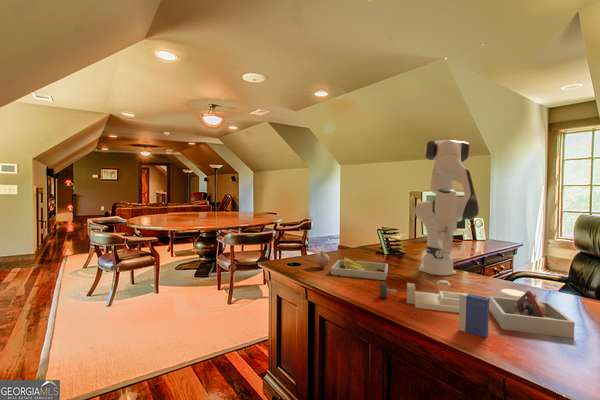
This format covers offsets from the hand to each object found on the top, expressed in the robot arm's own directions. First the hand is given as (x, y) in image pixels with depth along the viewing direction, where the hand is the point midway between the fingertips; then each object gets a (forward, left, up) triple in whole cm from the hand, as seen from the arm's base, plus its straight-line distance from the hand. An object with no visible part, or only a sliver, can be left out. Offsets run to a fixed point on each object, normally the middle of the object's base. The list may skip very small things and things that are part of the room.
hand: (444, 258), depth 135 cm
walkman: (+36, +5, -16) cm, 40 cm away
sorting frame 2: (+21, +24, -16) cm, 36 cm away
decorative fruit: (-25, -61, -16) cm, 68 cm away
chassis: (+13, -3, -16) cm, 21 cm away
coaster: (-3, +27, -16) cm, 32 cm away
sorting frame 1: (-24, -39, -16) cm, 48 cm away
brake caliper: (+21, +25, -16) cm, 37 cm away
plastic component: (-24, -39, -16) cm, 49 cm away
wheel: (+13, -22, -16) cm, 30 cm away
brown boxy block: (0, 0, -16) cm, 16 cm away
